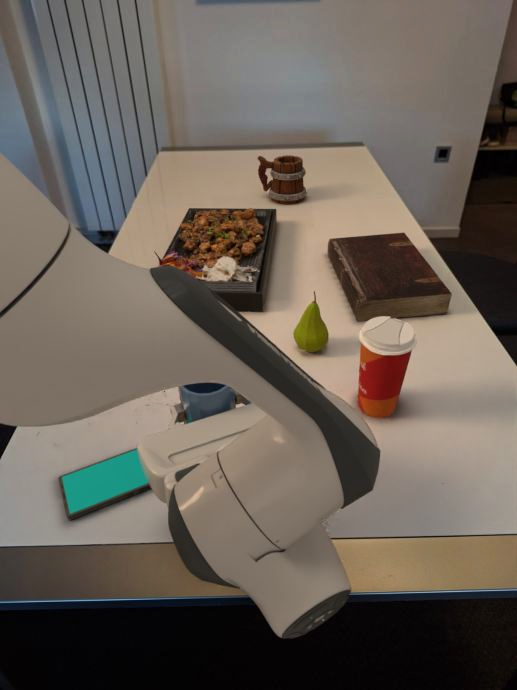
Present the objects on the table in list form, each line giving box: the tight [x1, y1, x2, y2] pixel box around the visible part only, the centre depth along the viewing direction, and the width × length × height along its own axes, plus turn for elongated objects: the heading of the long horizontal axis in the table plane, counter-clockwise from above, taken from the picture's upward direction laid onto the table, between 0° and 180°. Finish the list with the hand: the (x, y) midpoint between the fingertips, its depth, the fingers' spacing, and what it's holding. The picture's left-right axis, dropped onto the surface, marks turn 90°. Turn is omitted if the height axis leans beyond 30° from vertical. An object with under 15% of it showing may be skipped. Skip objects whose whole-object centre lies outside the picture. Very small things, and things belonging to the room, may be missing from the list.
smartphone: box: [57, 447, 152, 521], centre depth 70 cm, size 7×1×15 cm
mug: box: [257, 154, 308, 205], centre depth 151 cm, size 12×14×15 cm
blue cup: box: [177, 382, 237, 425], centre depth 63 cm, size 7×7×10 cm
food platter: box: [153, 207, 278, 313], centre depth 119 cm, size 45×25×10 cm, turn 175°
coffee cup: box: [357, 316, 418, 419], centre depth 76 cm, size 8×8×15 cm
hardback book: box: [327, 232, 452, 322], centre depth 110 cm, size 29×19×5 cm, turn 5°
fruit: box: [292, 290, 329, 353], centre depth 89 cm, size 6×6×12 cm
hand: (206, 398), depth 64 cm, fingers closed on blue cup, 7 cm apart
